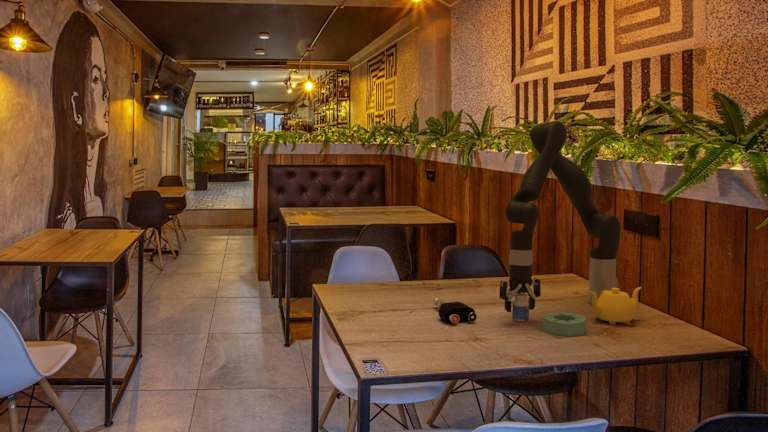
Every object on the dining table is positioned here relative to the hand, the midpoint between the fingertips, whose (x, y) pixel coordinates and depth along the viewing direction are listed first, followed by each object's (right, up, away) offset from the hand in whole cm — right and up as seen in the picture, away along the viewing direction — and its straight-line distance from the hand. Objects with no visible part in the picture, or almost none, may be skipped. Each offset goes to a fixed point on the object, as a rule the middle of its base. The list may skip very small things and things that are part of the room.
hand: (519, 310), depth 212 cm
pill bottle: (0, -5, 0) cm, 5 cm away
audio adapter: (-22, -4, +10) cm, 25 cm away
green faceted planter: (+12, -5, -9) cm, 16 cm away
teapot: (+32, -4, +2) cm, 32 cm away
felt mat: (+12, -5, -9) cm, 16 cm away
